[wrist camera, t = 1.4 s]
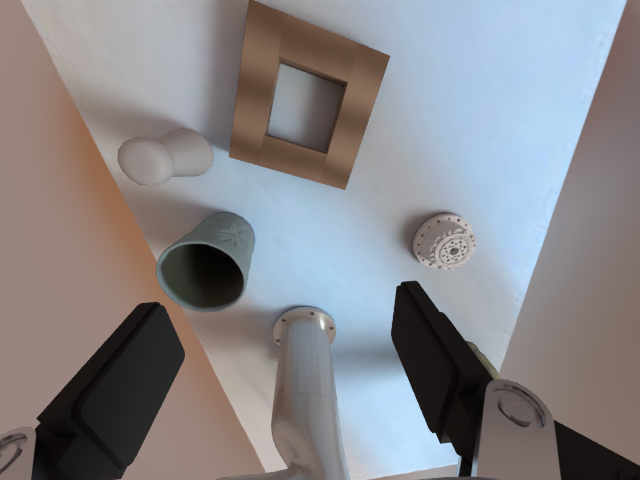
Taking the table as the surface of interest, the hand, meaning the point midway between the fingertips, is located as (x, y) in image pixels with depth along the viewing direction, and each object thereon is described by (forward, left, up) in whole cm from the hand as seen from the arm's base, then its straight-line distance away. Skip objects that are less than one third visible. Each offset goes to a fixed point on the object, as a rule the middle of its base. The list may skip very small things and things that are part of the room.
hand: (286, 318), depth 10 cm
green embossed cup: (-12, +8, -29) cm, 32 cm away
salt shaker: (0, +14, -29) cm, 32 cm away
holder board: (+9, +1, -28) cm, 30 cm away
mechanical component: (-3, -27, -29) cm, 39 cm away
